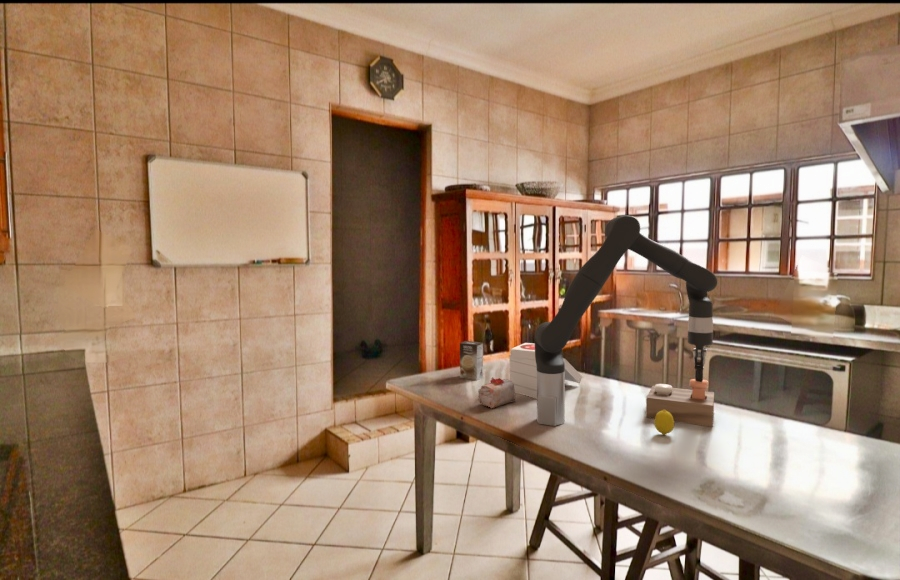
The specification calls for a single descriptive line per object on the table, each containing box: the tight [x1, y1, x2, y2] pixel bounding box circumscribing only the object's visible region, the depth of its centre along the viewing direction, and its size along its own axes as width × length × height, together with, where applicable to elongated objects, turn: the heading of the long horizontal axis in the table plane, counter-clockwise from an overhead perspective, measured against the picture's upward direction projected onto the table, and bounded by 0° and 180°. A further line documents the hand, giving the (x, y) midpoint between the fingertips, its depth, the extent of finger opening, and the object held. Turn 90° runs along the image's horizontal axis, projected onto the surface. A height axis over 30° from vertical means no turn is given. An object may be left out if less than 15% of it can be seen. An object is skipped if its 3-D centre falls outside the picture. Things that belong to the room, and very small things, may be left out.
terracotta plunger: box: [689, 378, 709, 400], centre depth 168 cm, size 6×6×8 cm
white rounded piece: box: [654, 383, 673, 396], centre depth 174 cm, size 6×6×8 cm
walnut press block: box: [645, 385, 715, 428], centre depth 171 cm, size 16×20×7 cm
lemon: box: [654, 410, 675, 436], centre depth 154 cm, size 6×6×8 cm
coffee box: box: [459, 340, 484, 381], centre depth 225 cm, size 9×6×16 cm
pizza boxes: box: [508, 342, 583, 400], centre depth 206 cm, size 19×30×18 cm, turn 127°
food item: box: [477, 377, 516, 409], centre depth 187 cm, size 14×8×10 cm, turn 132°
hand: (699, 380), depth 168 cm, fingers closed
